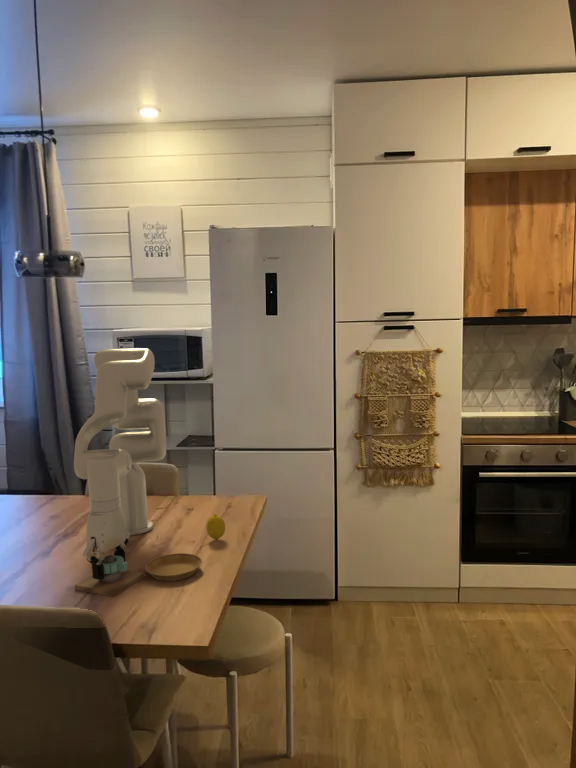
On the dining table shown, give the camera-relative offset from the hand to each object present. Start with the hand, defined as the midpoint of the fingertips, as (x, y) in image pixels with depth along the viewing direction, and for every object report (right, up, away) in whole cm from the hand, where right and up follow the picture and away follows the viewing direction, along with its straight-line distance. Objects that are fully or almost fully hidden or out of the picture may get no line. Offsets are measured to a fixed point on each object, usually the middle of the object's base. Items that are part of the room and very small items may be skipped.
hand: (109, 572), depth 154 cm
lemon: (+24, 0, +29) cm, 37 cm away
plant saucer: (+15, -2, +6) cm, 17 cm away
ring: (0, +1, 0) cm, 1 cm away
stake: (0, -3, 0) cm, 3 cm away
